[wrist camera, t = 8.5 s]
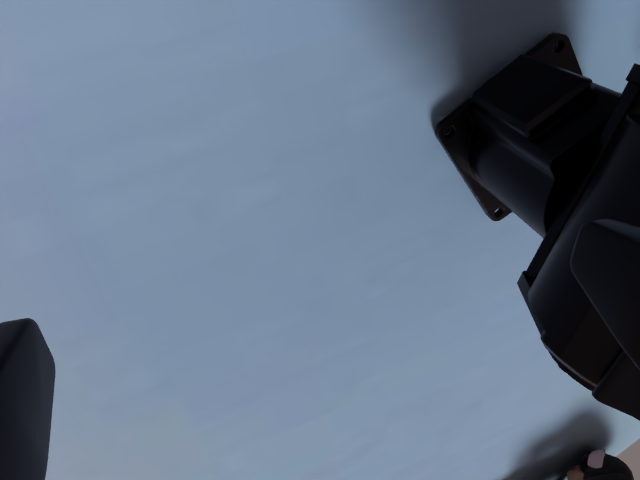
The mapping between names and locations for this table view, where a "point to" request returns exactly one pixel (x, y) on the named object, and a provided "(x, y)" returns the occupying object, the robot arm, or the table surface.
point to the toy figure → (600, 468)
